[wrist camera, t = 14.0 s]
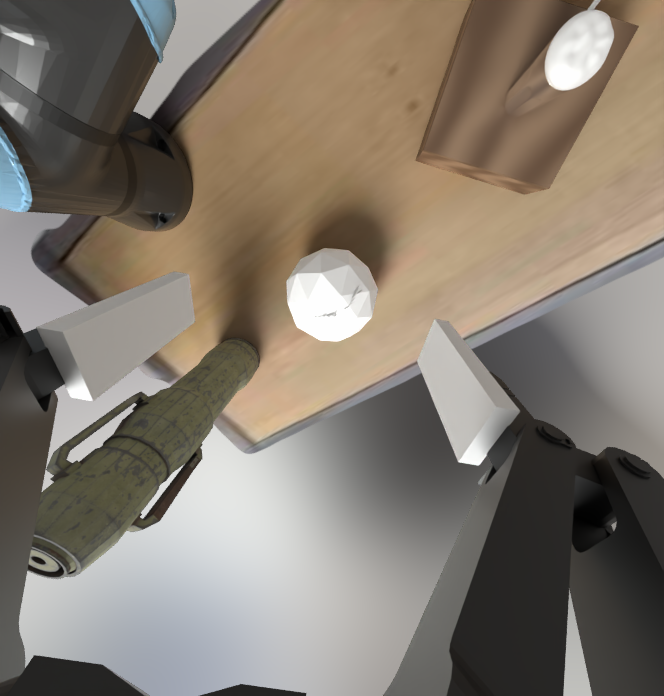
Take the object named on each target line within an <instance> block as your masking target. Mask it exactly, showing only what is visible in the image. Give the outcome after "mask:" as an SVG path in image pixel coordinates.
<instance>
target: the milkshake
mask: <svg viewBox="0 0 664 696" xmlns="http://www.w3.org/2000/svg"><path fill="white" fill-rule="evenodd" d="M599 2H600V0H594V1H593V2H592V4H591V5H590V7H589V8H588V10H587V11H583V12H581V13H578V14H577V15H575V16H573V17H572V18H571V19H569V20H568V21H567V22H566V23H565V24H564V25H563V26H562V27H561V28H560V30H559V31H558V32H557V33H556V35H555V36H554V37H553V38H552V39H551V41H550V42H549V43H548V44H547V46H546V47H545V48H544V49H543V50H542V52H541V53H540V54H539V56H538V57H537V58H536V59H535V60H534V61H533V63H532V64H531V65H530V66H529V67H528V68H527V69H526V71H525V72H524V73H523V74H522V75H521V76H520V77H519V79H518V80H517V81H516V82H515V83H514V85H513V86H512V87H511V89H510V90H509V91H508V92H507V95H506V100H505V104H504V106H505V109H506V112H507V115H509V116H512V117H514V118H517V117H520V116H522V115H525V114H527V113H529V112H531V111H533V110H535V109H536V108H538V107H540V106H542V105H544V104H545V103H547V102H549V101H551V100H553V99H554V98H556V97H559V96H561V95H563V94H565V93H567V92H569V91H571V90H573V89H575V88H577V87H578V86H580V85H582V84H584V83H585V82H586V81H588V80H589V79H590V78H591V77H592V76H593V75H595V74H596V72H597V71H598V70H599V69H600V68H601V66H602V65H603V63H604V61H605V60H606V57H607V55H608V53H609V50H610V48H611V45H612V42H613V39H614V31H613V28H612V24H611V20H610V17H609V16H608V15H607V14H606V13H605V12H603V11H599V10H594V9H595V7H596V6H597V5H598V3H599Z"/></svg>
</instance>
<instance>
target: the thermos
mask: <svg viewBox="0 0 664 696" xmlns="http://www.w3.org/2000/svg"><path fill="white" fill-rule="evenodd" d="M259 362H260V359H259V354H258V352H257V350H256V349H255V348H254V347H253V345H252V344H250V343H249V342H247V341H246V340H243V339H240V338H230V339H227V340H225V341H224V342H223V343H221V344H219V345H217V346H216V347H215V348H213V349H212V350H211V351H210V352H208V353H207V354H206V355H205V356H204V357H203V359H202V360H201V362H200V363H199V364H198V365H197V366H196V367H195V368H193V369H192V370H191V371H190V372H188V373H187V374H186V375H185V376H183V377H182V378H181V379H180V380H178V381H177V382H176V383H175V384H173V385H172V386H171V387H170V388H167V389H163V390H160V391H159V392H158V393H156V394H155V395H152V396H149V397H148V396H147V395H145V394H144V393H142V392H139V393H137V394H135V395H133V396H132V397H130V398H129V399H127V400H126V401H124V402H123V403H121V404H120V405H118V406H117V407H116V408H114V409H113V410H111V411H110V412H109V413H107V414H106V415H104V416H103V417H102V418H100V419H99V420H97V421H96V422H94V423H93V424H92V425H90V426H89V427H87V428H86V429H84V430H83V431H81V432H80V433H79V434H78V435H76V436H74V437H73V438H72V439H70V440H69V441H67V442H66V443H65V444H63V445H62V446H61V447H59V448H58V449H57V450H56V451H55V452H54V453H53V455H52V457H51V460H50V462H49V464H48V466H47V469H46V470H47V471H48V472H50V473H51V474H52V475H54V476H53V477H52V478H51V480H52V481H54V483H53V484H51V485H50V486H49V487H48V488H46V489H45V490H44V491H43V492H41V497H40V502H39V508H38V514H37V519H36V525H35V530H34V536H33V541H32V547H31V553H30V558H29V564H28V569H27V571H29V572H31V573H34V574H36V575H39V576H42V577H46V578H52V579H61V578H64V577H73V576H76V575H78V574H80V573H81V572H82V571H83V570H85V569H86V568H87V567H88V566H89V565H91V564H92V563H93V562H94V561H96V560H97V559H98V558H99V557H101V556H102V555H103V554H104V553H105V552H107V551H108V550H109V549H110V548H111V547H112V546H114V545H115V544H116V543H117V542H118V541H119V539H120V538H121V537H122V536H123V534H124V533H125V532H126V531H130V532H135V531H139V530H143V529H145V528H147V527H149V526H151V525H153V524H155V523H157V522H159V521H160V520H161V518H162V517H163V515H164V514H165V512H166V511H167V509H168V508H169V506H170V504H171V503H172V502H173V500H174V499H175V497H176V496H177V494H178V493H179V491H180V490H181V488H182V486H183V485H184V484H185V482H186V481H187V479H188V478H189V476H190V475H191V473H192V472H193V470H194V469H195V468H196V466H197V465H198V463H199V462H200V461H201V459H202V450H201V448H200V447H201V446H202V442H203V440H204V439H205V438H206V437H207V435H208V434H209V432H210V431H211V429H212V428H213V422H214V421H215V419H216V418H217V417H218V416H219V414H220V413H221V412H222V411H223V409H224V408H225V407H226V405H227V404H228V403H229V402H230V400H231V399H232V398H233V397H234V395H235V394H236V393H237V391H239V390H241V389H242V388H244V387H245V386H246V385H247V383H248V382H249V381H250V379H251V378H252V377H253V375H254V373H255V372H256V370H257V368H258V367H259ZM133 403H136V404H137V405H136V406H135V407H134V408H133V410H134V411H133V412H132V413H131V414H129V415H128V416H127V417H126V418H125V419H123V420H122V422H121V423H120V425H119V426H118V428H117V429H116V431H115V433H114V434H113V435H112V436H111V437H110V438H108V439H107V440H106V441H105V442H104V443H103V446H102V447H100V448H97V449H95V450H94V451H92V452H91V453H90V454H88V455H87V456H86V457H85V458H83V459H82V460H81V461H80V462H78V461H75V462H74V463H71V462H69V461H67V460H66V459H67V457H68V454H69V452H70V450H72V449H73V448H74V447H76V446H77V445H78V444H80V443H81V442H82V441H84V440H85V439H86V438H88V437H89V436H90V435H92V434H93V433H94V432H96V431H97V430H98V429H100V428H101V427H102V426H104V425H105V424H106V423H108V422H109V421H110V420H112V419H113V418H114V417H116V416H117V415H119V414H120V413H121V412H123V411H124V410H125V409H127V408H128V407H129V406H131V405H132V404H133ZM185 463H186V464H185ZM184 464H185V465H184ZM182 465H184V466H183V468H182V469H181V470H180V472H179V473H178V474H177V476H176V477H175V478H174V479H173V481H172V482H171V483H170V485H169V486H168V487H167V489H166V490H165V491H164V492H163V494H162V495H161V497H160V498H159V499H158V500H157V502H156V503H155V504H154V506H153V507H152V508H151V510H150V511H149V512H148V514H147V515H146V516H145V517H144V519H142V518H140V516H141V515H142V514H141V512H142V510H143V509H144V508H145V507H146V505H147V504H148V503H149V501H150V500H151V499H152V497H153V496H154V495H155V494H156V492H157V490H158V489H159V486H160V485H161V484H162V483H163V482H165V481H166V480H167V479H168V477H169V476H170V475H171V474H172V473H173V472H174V471H175V470H177V469H178V468H179V467H181V466H182Z"/></svg>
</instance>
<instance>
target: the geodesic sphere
mask: <svg viewBox="0 0 664 696" xmlns="http://www.w3.org/2000/svg"><path fill="white" fill-rule="evenodd" d="M286 282H287V301H288V305H289V308H290V310H291V313H292V316H293V318H294V321H295V323H296V326H297V327H298V328H300V329H301V330H303V331H305V332H307V333H308V334H310V335H312V336H314V337H315V338H317V339H319V340H324V341H340V340H343V339H345V338H348V337H350V336H352V335H353V334H355V333H357V332H358V331H360V330H361V329H362V328H363V326H364V325H365V324H366V323H367V322H368V321H369V320H370V319H371V318H372V315H373V310H374V306H375V301H376V297H377V292H378V288H377V286H376V284H375V281H374V279H373V277H372V274H371V272H370V270H369V268H368V267H367V266H366V265H365V264H364V263H363V262H361V261H360V260H359V259H358V258H357V257H356V256H355V255H354V254H352V253H351V252H350V251H349V250H341V249H330V248H323V249H321V250H319V251H317V252H315V253H312V254H310V255H308V256H306V257H303V258H301V259H300V261H299V262H298V264H297V265H296V267H295V269H294V270H293V272H292V273H291V275H290V276H289V278H288V280H287V281H286Z"/></svg>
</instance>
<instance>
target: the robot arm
mask: <svg viewBox="0 0 664 696" xmlns="http://www.w3.org/2000/svg"><path fill="white" fill-rule="evenodd" d="M175 20H176V8H175V2H174V0H0V208H4V209H8V210H11V211H17V212H42V213H60V214H79V215H97V216H107V217H109V218H112V219H114V220H116V221H119V222H121V223H123V224H125V225H128V226H130V227H132V228H135V229H139V230H143V231H167V230H170V229H172V228H174V227H176V226H177V225H179V224H180V223H181V222H182V221H183V219H184V218H185V217H186V215H187V213H188V211H189V208H190V205H191V200H192V181H191V175H190V171H189V168H188V165H187V162H186V160H185V157H184V155H183V153H182V151H181V150H180V148H179V146H178V145H177V143H176V142H175V141H174V139H173V138H172V137H171V136H170V135H169V134H168V133H167V132H166V131H165V130H164V129H163V128H162V127H161V126H159V125H158V124H156V123H155V122H153V121H151V120H150V119H148V118H146V117H144V116H142V115H140V114H138V113H136V112H133V110H134V108H135V106H136V104H137V102H138V100H139V98H140V96H141V94H142V92H143V91H144V89H145V86H146V85H147V83H148V81H149V79H150V77H151V75H152V73H153V71H154V69H155V67H156V65H157V63H158V62H159V63H161V62H162V60H163V53H162V52H163V50H164V48H165V46H166V43H167V41H168V39H169V36H170V34H171V32H172V30H173V27H174V25H175ZM194 322H195V317H194V309H193V301H192V294H191V286H190V278H189V274H185V273H180V272H172V273H169V274H167V275H164V276H162V277H159V278H157V279H154V280H152V281H150V282H147V283H145V284H142V285H140V286H137V287H135V288H132V289H130V290H127V291H125V292H122V293H120V294H117V295H115V296H112V297H110V298H107V299H105V300H102V301H100V302H98V303H95V304H93V305H90V306H88V307H85V308H83V309H81V310H78V311H75V312H73V313H70V314H68V315H65V316H63V317H61V318H58V319H55V320H53V321H51V322H48V323H46V324H43V325H41V326H38V327H36V329H34V330H31V331H29V332H26V333H23V332H22V330H21V328H20V326H19V324H18V322H17V320H16V319H15V317H14V315H13V313H12V311H11V309H10V308H8V307H6V306H2V305H0V696H149V695H148V694H147V693H145V692H144V691H142V690H141V689H139V688H138V687H136V686H135V685H133V684H132V683H130V682H128V681H127V680H125V679H124V678H122V677H121V676H119V675H117V674H116V673H114V672H113V671H111V670H110V669H108V668H107V667H105V666H103V665H100V664H92V663H86V662H79V661H71V660H64V659H57V658H50V657H43V656H34V657H33V658H32V659H31V661H30V662H29V664H28V665H27V667H26V668H25V651H24V645H23V642H22V639H21V636H20V633H19V614H20V608H21V603H22V597H23V592H24V586H25V580H26V574H27V569H28V564H29V558H30V553H31V547H32V541H33V536H34V530H35V525H36V519H37V514H38V508H39V502H40V497H41V491H42V486H43V480H44V474H45V469H46V463H47V458H48V452H49V447H50V441H51V436H52V430H53V424H54V419H55V413H56V408H57V402H58V398H57V395H56V393H55V391H54V390H56V389H57V388H59V387H60V386H62V385H64V384H65V386H66V388H67V390H68V392H69V394H70V396H71V397H72V398H77V399H83V400H89V401H94V400H95V399H97V398H98V397H99V396H100V395H102V394H103V393H104V392H105V391H107V390H108V389H109V388H111V387H112V386H113V385H115V384H116V383H117V382H118V381H119V380H121V379H122V378H124V377H125V376H126V375H127V374H129V373H130V372H131V371H132V370H134V369H135V368H136V367H138V366H139V365H140V364H142V363H143V362H144V361H145V360H147V359H148V358H149V357H151V356H152V355H153V354H154V353H156V352H157V351H158V350H160V349H161V348H162V347H163V346H165V345H166V344H167V343H169V342H170V341H171V340H172V339H174V338H175V337H176V336H177V335H179V334H180V333H181V332H183V331H184V330H185V329H186V328H188V327H189V326H190V325H192V324H193V323H194ZM417 362H418V364H419V367H420V369H421V372H422V374H423V376H424V379H425V381H426V384H427V386H428V388H429V391H430V394H431V396H432V398H433V401H434V403H435V406H436V408H437V411H438V413H439V416H440V418H441V421H442V423H443V425H444V428H445V430H446V432H447V435H448V438H449V440H450V443H451V445H452V448H453V450H454V452H455V455H456V457H457V460H458V462H461V463H467V464H473V465H480V463H481V462H482V461H483V459H484V458H485V457H486V455H488V457H489V458H490V460H491V462H492V466H491V467H490V468H489V469H488V471H487V472H486V473H485V474H484V476H483V477H482V478H481V479H480V481H479V482H478V484H479V485H481V486H480V489H479V491H478V493H477V495H476V497H475V500H474V502H473V504H472V506H471V509H470V511H469V513H468V515H467V518H466V520H465V522H464V524H463V526H462V529H461V531H460V533H459V535H458V538H457V540H456V542H455V545H454V547H453V549H452V551H451V554H450V556H449V558H448V560H447V562H446V565H445V567H444V569H443V572H442V573H441V576H440V578H439V580H438V583H437V585H436V587H435V589H434V592H433V594H432V596H431V598H430V600H429V603H428V605H427V607H426V609H425V611H424V614H423V616H422V618H421V620H420V623H419V625H418V627H417V630H416V632H415V634H414V636H413V638H412V641H411V643H410V645H409V648H408V650H407V652H406V654H405V656H404V659H403V661H402V663H401V665H400V667H399V670H398V672H397V674H396V676H395V678H394V679H393V681H392V683H391V685H390V686H389V688H388V689H387V691H386V692H385V694H384V695H383V696H563V689H564V671H565V653H566V635H567V617H568V599H569V588H570V593H571V598H572V602H573V607H574V611H575V616H576V621H577V625H578V630H579V635H580V639H581V644H582V649H583V654H584V658H585V663H586V668H587V672H588V677H589V682H590V687H591V691H592V696H664V479H663V478H662V476H661V475H660V474H659V473H658V472H657V471H656V470H655V469H653V468H652V467H651V466H650V465H649V464H648V463H647V462H645V461H644V460H641V458H639V457H637V456H636V455H633V454H630V453H628V452H626V451H623V450H621V449H618V448H615V447H614V448H613V447H607V448H606V449H604V450H603V451H602V452H601V453H600V454H599V455H598V456H595V455H593V454H590V453H588V452H585V451H582V450H580V449H577V448H576V446H575V444H574V443H573V441H572V440H571V439H570V438H569V437H568V436H567V435H566V434H565V433H563V432H562V431H561V430H559V429H558V428H556V427H554V426H553V425H551V424H548V423H546V422H544V421H540V420H536V419H534V418H533V417H532V416H531V414H530V413H529V412H528V411H527V410H526V408H525V407H524V406H523V405H522V404H521V403H520V401H519V400H518V399H517V398H516V397H515V395H514V394H513V393H512V392H511V390H509V388H508V387H507V386H506V384H505V383H504V382H503V381H502V380H501V379H500V378H498V377H497V376H496V375H494V374H493V373H492V372H489V371H488V370H487V369H486V368H485V366H484V365H483V364H482V363H481V361H480V360H479V359H478V358H477V356H476V355H475V354H474V353H473V351H472V350H471V349H470V348H469V346H468V345H467V344H466V343H465V341H464V340H463V339H462V338H461V336H460V335H459V334H458V333H457V331H456V330H455V329H454V328H453V326H452V325H451V324H450V323H449V321H444V320H439V319H434V321H433V324H432V326H431V329H430V331H429V334H428V336H427V338H426V341H425V343H424V346H423V348H422V351H421V353H420V355H419V358H418V360H417ZM616 521H617V524H616V529H615V531H613V529H612V526H611V525H612V524H613V523H615V522H616ZM200 696H306V693H301V692H294V691H286V690H279V689H272V688H265V687H257V686H251V685H243V684H240V685H236V686H233V687H229V688H226V689H222V690H219V691H215V692H211V693H208V694H204V695H200Z"/></svg>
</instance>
